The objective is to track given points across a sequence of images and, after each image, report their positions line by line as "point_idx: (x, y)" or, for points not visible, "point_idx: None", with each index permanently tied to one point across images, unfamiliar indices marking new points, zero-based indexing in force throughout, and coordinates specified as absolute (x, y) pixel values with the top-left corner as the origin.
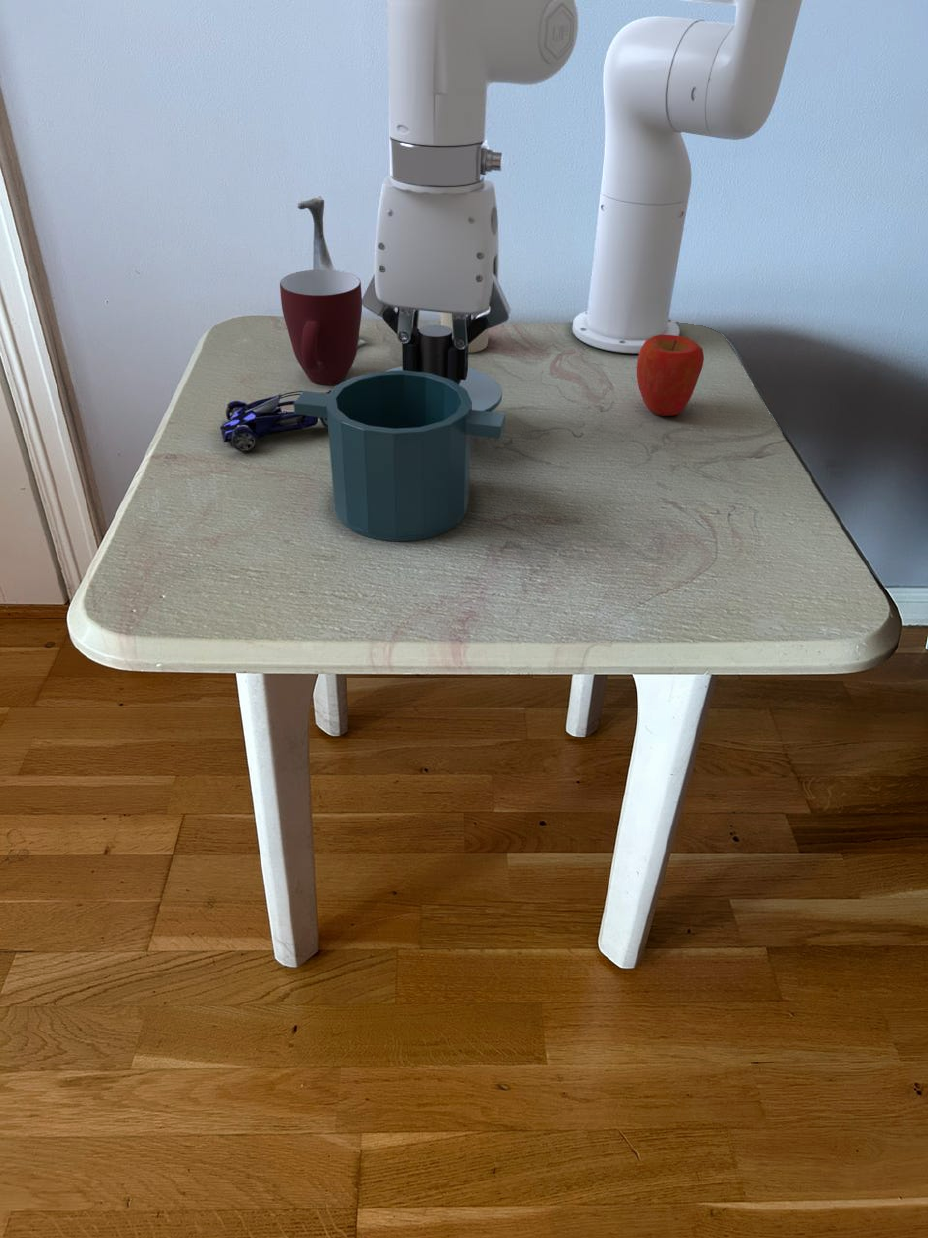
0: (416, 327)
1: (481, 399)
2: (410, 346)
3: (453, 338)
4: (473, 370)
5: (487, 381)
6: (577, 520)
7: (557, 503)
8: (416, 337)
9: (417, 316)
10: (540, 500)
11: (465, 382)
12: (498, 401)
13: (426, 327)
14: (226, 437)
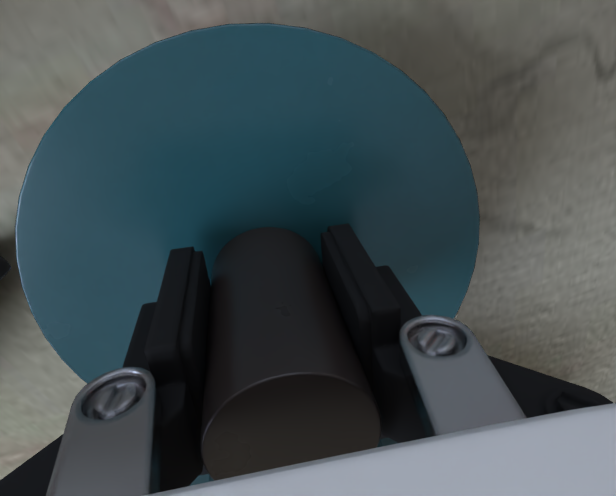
0: (165, 425)
1: (424, 282)
2: (201, 473)
3: (389, 428)
4: (351, 62)
5: (423, 150)
6: (566, 372)
7: (539, 345)
8: (199, 444)
9: (159, 474)
10: (512, 348)
11: (349, 188)
12: (472, 270)
13: (232, 437)
14: None
